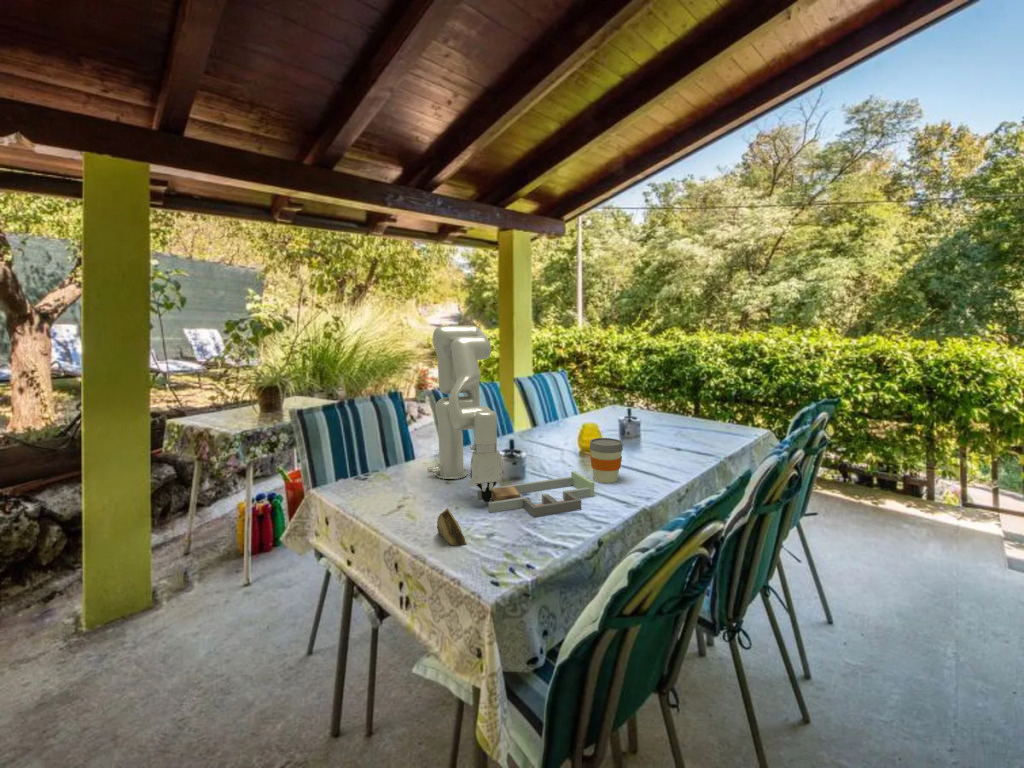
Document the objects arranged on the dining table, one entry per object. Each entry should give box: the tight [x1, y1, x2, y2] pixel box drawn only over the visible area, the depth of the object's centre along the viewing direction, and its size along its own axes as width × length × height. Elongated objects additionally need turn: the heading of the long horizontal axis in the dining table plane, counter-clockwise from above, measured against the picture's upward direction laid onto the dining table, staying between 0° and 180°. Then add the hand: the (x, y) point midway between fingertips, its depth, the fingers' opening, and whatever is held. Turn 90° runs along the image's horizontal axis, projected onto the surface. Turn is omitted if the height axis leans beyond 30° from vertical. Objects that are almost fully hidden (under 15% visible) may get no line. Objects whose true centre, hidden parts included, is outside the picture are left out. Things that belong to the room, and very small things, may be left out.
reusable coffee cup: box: [589, 437, 624, 484], centre depth 183 cm, size 13×13×15 cm
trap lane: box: [476, 470, 595, 518], centre depth 161 cm, size 38×22×5 cm, turn 111°
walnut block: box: [491, 487, 521, 502], centre depth 161 cm, size 8×8×4 cm
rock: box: [436, 507, 467, 546], centre depth 134 cm, size 11×9×10 cm
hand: (486, 500), depth 159 cm, fingers closed
